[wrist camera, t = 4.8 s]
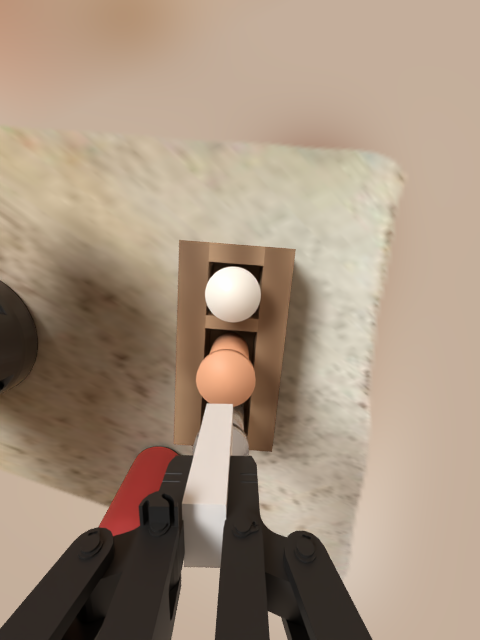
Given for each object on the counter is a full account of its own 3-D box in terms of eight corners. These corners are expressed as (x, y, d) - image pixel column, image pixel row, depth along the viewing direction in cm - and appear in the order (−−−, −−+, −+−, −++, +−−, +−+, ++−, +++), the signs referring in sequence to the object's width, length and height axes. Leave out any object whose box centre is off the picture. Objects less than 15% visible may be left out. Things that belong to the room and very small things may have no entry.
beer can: (191, 483, 36) (165, 591, 24) (142, 490, 36) (94, 600, 25) (179, 439, 35) (146, 532, 23) (129, 447, 35) (71, 542, 23)
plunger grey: (203, 423, 29) (191, 473, 22) (205, 384, 28) (194, 424, 21) (245, 426, 29) (246, 477, 22) (249, 388, 28) (251, 428, 21)
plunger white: (212, 306, 29) (203, 320, 22) (215, 263, 28) (206, 264, 21) (254, 309, 29) (258, 324, 22) (258, 266, 28) (263, 269, 21)
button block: (185, 412, 34) (173, 444, 28) (192, 243, 29) (179, 240, 24) (266, 418, 34) (271, 451, 28) (285, 251, 29) (295, 249, 24)
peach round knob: (206, 369, 27) (194, 405, 21) (209, 327, 26) (197, 350, 20) (250, 373, 27) (252, 409, 21) (254, 330, 26) (258, 354, 20)
